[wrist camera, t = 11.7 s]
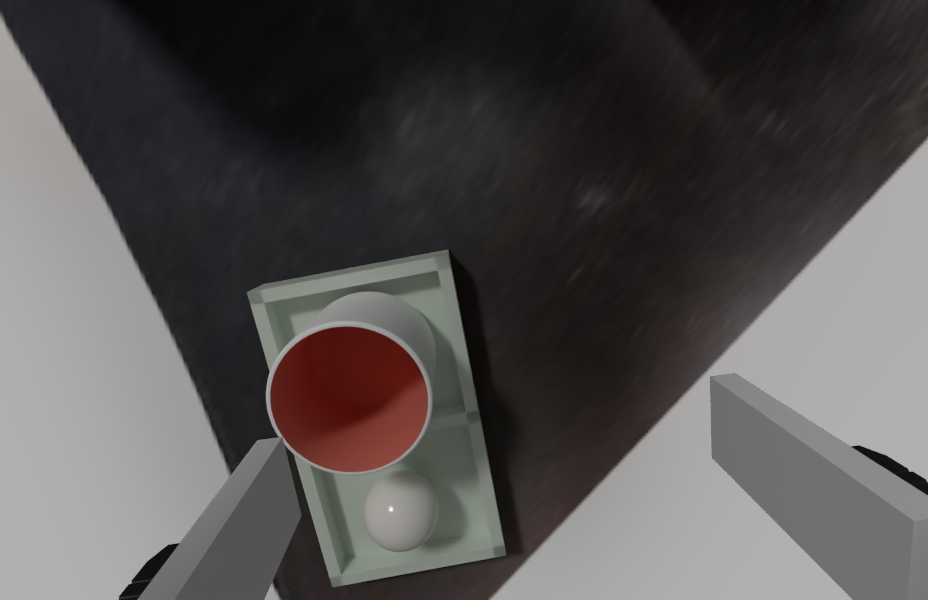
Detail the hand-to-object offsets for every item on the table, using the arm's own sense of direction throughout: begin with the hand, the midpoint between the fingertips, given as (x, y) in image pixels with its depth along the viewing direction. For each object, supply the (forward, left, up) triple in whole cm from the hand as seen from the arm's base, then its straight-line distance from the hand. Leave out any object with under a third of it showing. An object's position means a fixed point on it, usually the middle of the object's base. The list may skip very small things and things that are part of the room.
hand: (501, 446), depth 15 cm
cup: (+3, -8, -24) cm, 26 cm away
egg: (+16, -8, -24) cm, 30 cm away
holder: (+10, -8, -25) cm, 28 cm away
